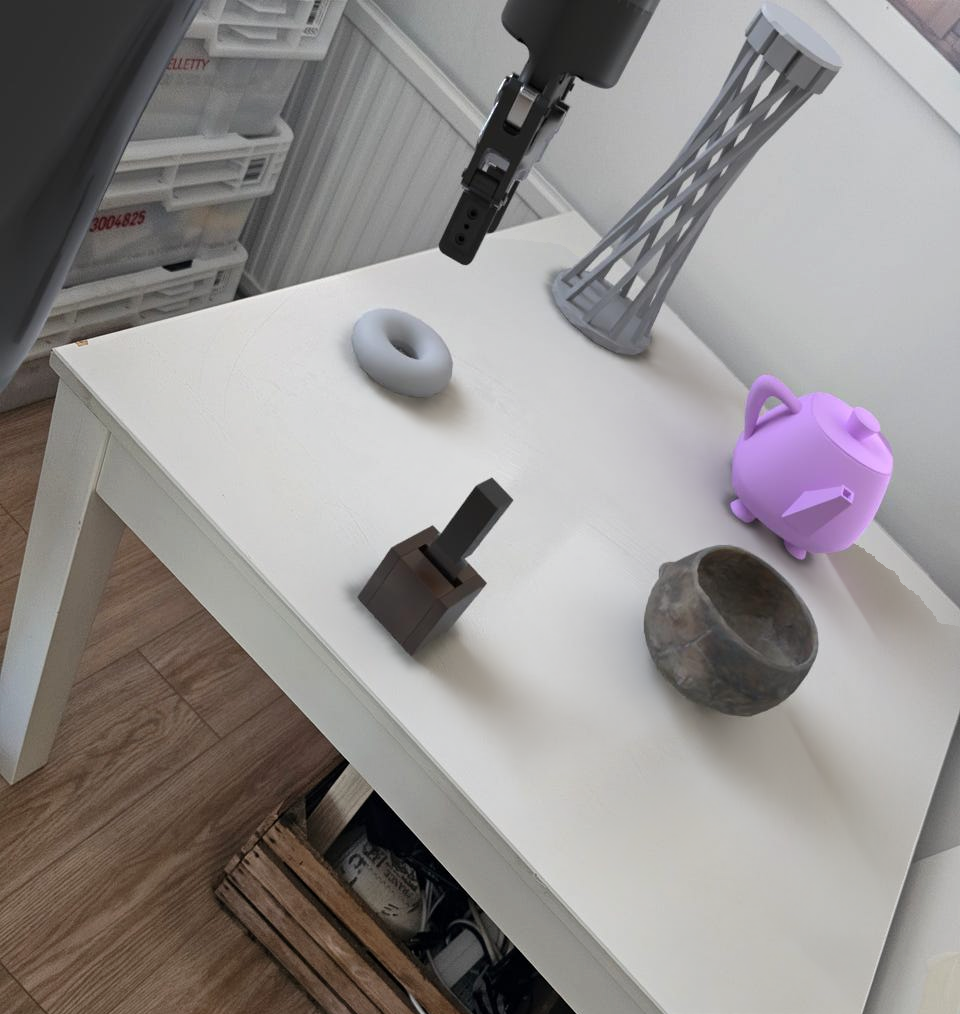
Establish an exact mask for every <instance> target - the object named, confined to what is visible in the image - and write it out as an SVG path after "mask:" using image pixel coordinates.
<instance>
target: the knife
mask: <svg viewBox="0 0 960 1014" xmlns="http://www.w3.org/2000/svg"><path fill="white" fill-rule="evenodd" d="M513 502H514V499H513V498H512V496H510V494H509V493H508V492H507V491H506V490H505V489H504V488H503V487H502V486H501V485H500V484H499V483H498V481H496V479H494V477H489V478H488V479H486V480H483V481H482V482H480V483H478V484H476V485H475V486H474V488H473V489H472V490H471V491H470V493H469V494H468V496H467V497H466V498H465V500H464V501H463V503H461V505H460V507H458V509H457V511H456V512H455V513H454V515H453V516H452V517H451V519H450V520H449V522H448V523H447V525H446V526H445V527H444V528H443V530H442V531H441V532H440V533H439V534H438V535H437V536H436V537H435V539H434V540H433V541H432V543H431V544H430V546H429V547H428V548H427V550H426V551H425V552H424V554H423V555H424V556H425V557H426V558H427V559H428V560H429V561H430V562H431V563H432V564H433V565H434V566H435V568H436V569H437V570H438V571H439V572H440V573H441V574H442V575H443V576H444V577H445V578H446V579H447V580H448V581H449V583H450V584H451V585H452V584H453V582H454V581H455V580H456V578H457V577H458V576H459V575H460V573H461V572H462V571H463V569H464V568H465V567H466V566H467V564H468V563H469V562H468V560H466V558H469V557H470V556H472V555H473V553H475V552H476V550H477V548H478V547H479V546H480V544H481V543H482V542H483V541H484V539H485V538H486V537H487V536H488V534H489V533H490V532H491V530H493V528H494V527H495V525H496V524H497V523H498V521H499V520H501V518H502V516H503V515H504V514H505V512H506V511H507V510H508V509H509V507H510V506H511V504H512V503H513Z"/></svg>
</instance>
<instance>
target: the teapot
mask: <svg viewBox="0 0 960 1014" xmlns="http://www.w3.org/2000/svg"><path fill="white" fill-rule="evenodd" d="M770 397H774V398H776V399H778V400H779V401H780V402H782V403H781V404H779V405H777V406H775V407H773V408H771V409H770V410H768V411H766V412H764V413H763V414H761V415H760V413H761V410H762V409H763V406H764V404H765V402H766V401H767V400H768V398H770ZM744 413H745V414H744V427H743V430H742V432H741V433H740V435H739V436H738V439H737V440H736V443H735V445H734V449H733V454H732V462H731V473H730V474H731V483H732V487H733V490H734V492H735V494H736V496H737V497H738V498H737V499H735V500H732V501H731V502H730V510H731V511H732V513H733V514H734V516H736V518H738V519H739V520H741V521H742V522H744V523H748V524H749V523H751V522H753V521H754V520H755V519H757V520H758V521H760V522H761V523H762V524H763V525H764V526H765V527H766V528H768V529H769V530H770V531H771V532H773V533H774V534H776V535H777V536H778V537H780V538H782V540H783V545H784V547H785V549H786V551H787V552H788V553H789V554H790V555H791V556H792V557H793V558H795V559H796V560H797V559H798V560H805V558H806V556H807V555H806V554H807V552H808V553H813V554H831V553H838V552H842V551H845V550H846V549H849V548H850V547H851V546H852V545H853V544H854V543H855V542H857V540H859V538H860V537H861V536H862V534H863V533H864V532H865V531H866V530H867V528H868V527H869V526H870V524H871V523H872V521H873V519H874V518H875V516H876V515H877V512H878V510H879V507H880V506H881V504H882V501H883V499H884V497H885V493H886V491H887V489H888V486H889V483H890V480H891V477H892V474H893V470H894V458H893V452H892V451H893V450H892V448H891V445H890V442H889V441H888V439H887V438H886V437H885V435H884V434H883V433H882V432H881V425H880V422H879V421H878V419H877V418H876V417H875V416H874V415H873V413H871V412H870V411H868V410H867V409H865V408H863V407H862V406H855V407H852V406H851V405H849V404H847V402H845V401H843V400H841V399H839V398H838V397H836V396H835V395H832V394H830V393H827V392H823V391H816V392H811V393H808V394H805V395H802V396H799V397H797V396H796V395H795V394H794V393H793V392H792V390H791V389H790V388H788V386H786V384H784V383H783V382H782V381H781V379H778V378H777V377H775V376H774V375H771V374H763V375H760V376H759V377H757V378H756V380H755V381H754V382H753V384H752V385H751V387H750V389H749V392H748V394H747V398H746V404H745V412H744ZM759 415H760V416H759Z"/></svg>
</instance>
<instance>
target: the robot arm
mask: <svg viewBox="0 0 960 1014" xmlns="http://www.w3.org/2000/svg"><path fill="white" fill-rule="evenodd" d="M205 1H206V0H0V395H2V394H3V392H4V391H5V389H6V388H7V387H8V385H9V384H10V383H11V382H12V380H13V378H14V377H15V375H16V374H17V372H18V371H19V369H20V367H21V366H22V364H23V363H24V361H25V360H26V358H27V356H28V354H29V353H30V352H31V350H32V347H33V346H34V344H35V343H36V341H37V339H38V337H39V335H40V333H41V332H42V330H43V328H44V326H45V324H46V322H47V321H48V318H49V316H50V314H51V312H52V309H53V307H54V306H55V304H56V301H57V299H58V297H59V295H60V293H61V291H62V289H63V288H64V285H65V283H66V280H67V278H68V276H69V274H70V271H71V269H72V267H73V265H74V263H75V261H76V259H77V256H78V254H79V252H80V250H81V248H82V245H83V243H84V241H85V239H86V237H87V235H88V233H89V231H90V228H91V226H92V224H93V222H94V220H95V218H96V215H97V213H98V211H99V208H100V207H101V204H102V201H103V199H104V197H105V195H106V193H107V191H108V189H109V186H110V184H111V182H112V180H113V178H114V175H115V174H116V172H117V169H118V167H119V165H120V162H121V160H122V158H123V156H124V154H125V152H126V149H127V147H128V145H129V143H130V141H131V140H132V137H133V135H134V133H135V130H136V129H137V126H138V124H139V122H140V120H141V118H142V116H143V114H144V113H145V111H146V109H147V106H149V103H150V102H151V99H152V97H153V95H154V93H155V91H156V90H157V88H158V86H159V84H160V82H161V80H162V78H163V76H164V75H165V73H166V71H167V69H168V67H169V66H170V63H171V62H172V60H173V58H174V56H175V54H176V53H177V51H178V49H179V47H180V45H181V43H182V41H183V39H184V38H185V36H186V34H187V32H188V31H189V29H190V28H191V26H192V23H193V22H194V20H195V18H196V17H197V15H198V14H199V12H200V10H201V8H202V6H203V4H204V3H205ZM660 3H661V0H506V3H505V5H504V7H503V8H502V9H503V10H502V12H501V15H500V21H501V25H502V27H503V28H504V30H505V31H506V32H507V33H508V34H509V35H510V36H511V37H512V38H513V39H514V40H516V41H517V42H519V43H521V44H523V45H524V46H525V47H526V49H527V51H528V59H527V61H526V63H525V64H524V66H523V68H522V70H521V72H520V73H517V72H516V71H514V70H513V71H512V73H511V74H510V76H509V75H506V76H505V77H504V79H503V80H502V83H501V84H500V86H499V87H498V90H497V91H496V95H495V98H494V101H493V108H492V110H491V112H490V114H489V116H488V118H487V119H486V122H485V123H484V125H483V127H482V128H481V130H480V132H479V134H478V136H477V140H476V144H475V147H474V153H473V155H472V157H471V159H470V161H469V164H468V165H467V168H466V167H464V169H463V171H462V173H461V175H460V176H461V178H462V179H461V181H460V185H461V186H462V187H461V189H462V190H463V191H462V192H461V195H460V197H459V199H458V201H457V204H456V206H455V208H454V210H453V211H452V214H451V216H450V218H449V220H448V222H447V225H446V226H445V229H444V231H443V234H442V235H441V238H440V240H439V242H438V249H439V251H440V253H441V254H443V255H444V256H446V257H448V258H450V259H451V260H453V261H455V262H456V263H458V264H460V265H461V266H469V265H470V264H471V263H472V262H473V261H474V260H475V257H476V255H477V253H478V251H479V249H480V247H481V245H482V244H483V241H484V239H485V237H486V236H487V234H493V233H494V232H495V231H497V229H498V227H499V225H500V224H501V221H502V220H503V218H504V217H505V213H506V211H507V209H508V207H509V205H510V204H511V202H512V200H513V197H514V195H515V194H516V191H517V189H518V187H519V185H520V183H521V181H522V182H523V181H524V180H525V179H527V178H528V176H529V175H530V173H531V171H532V169H533V167H534V165H535V164H536V163H539V162H540V161H541V160H542V158H543V156H544V154H545V152H546V151H547V149H548V148H549V146H550V143H551V141H552V140H553V139H554V138H555V137H554V136H555V135H556V134H558V132H559V131H560V129H561V127H562V126H563V123H564V122H565V120H566V118H567V116H568V114H569V112H570V110H571V107H572V106H571V105H570V104H568V103H567V102H565V101H566V99H567V96H568V94H569V92H570V93H572V91H573V89H574V87H575V86H576V85H575V81H576V79H579V80H580V81H582V82H583V83H586V84H588V85H591V86H593V87H596V88H599V89H603V90H608V89H612V88H613V87H615V86H616V85H617V84H618V82H619V81H620V80H621V79H620V78H621V77H622V75H623V73H624V71H625V70H626V67H627V66H628V63H629V62H630V60H631V58H632V56H633V54H634V52H635V50H636V48H637V46H638V44H639V43H640V41H641V39H642V36H643V35H644V33H645V31H646V29H647V27H648V26H649V23H650V22H651V19H652V18H653V16H654V14H655V12H656V10H657V8H658V7H659V5H660ZM487 163H491V164H489V165H488V167H487V169H486V170H484V167H485V165H486V164H487Z"/></svg>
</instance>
